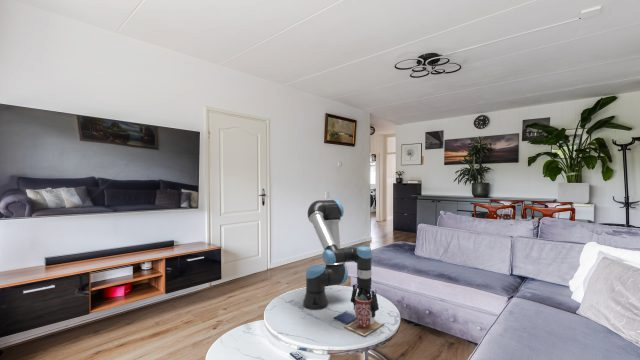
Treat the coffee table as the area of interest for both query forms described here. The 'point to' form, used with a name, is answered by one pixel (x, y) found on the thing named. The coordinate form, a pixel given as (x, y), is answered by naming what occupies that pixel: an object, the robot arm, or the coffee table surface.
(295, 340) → the coffee table surface
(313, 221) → the robot arm
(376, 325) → the board
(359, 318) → the mug
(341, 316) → the ink pad
